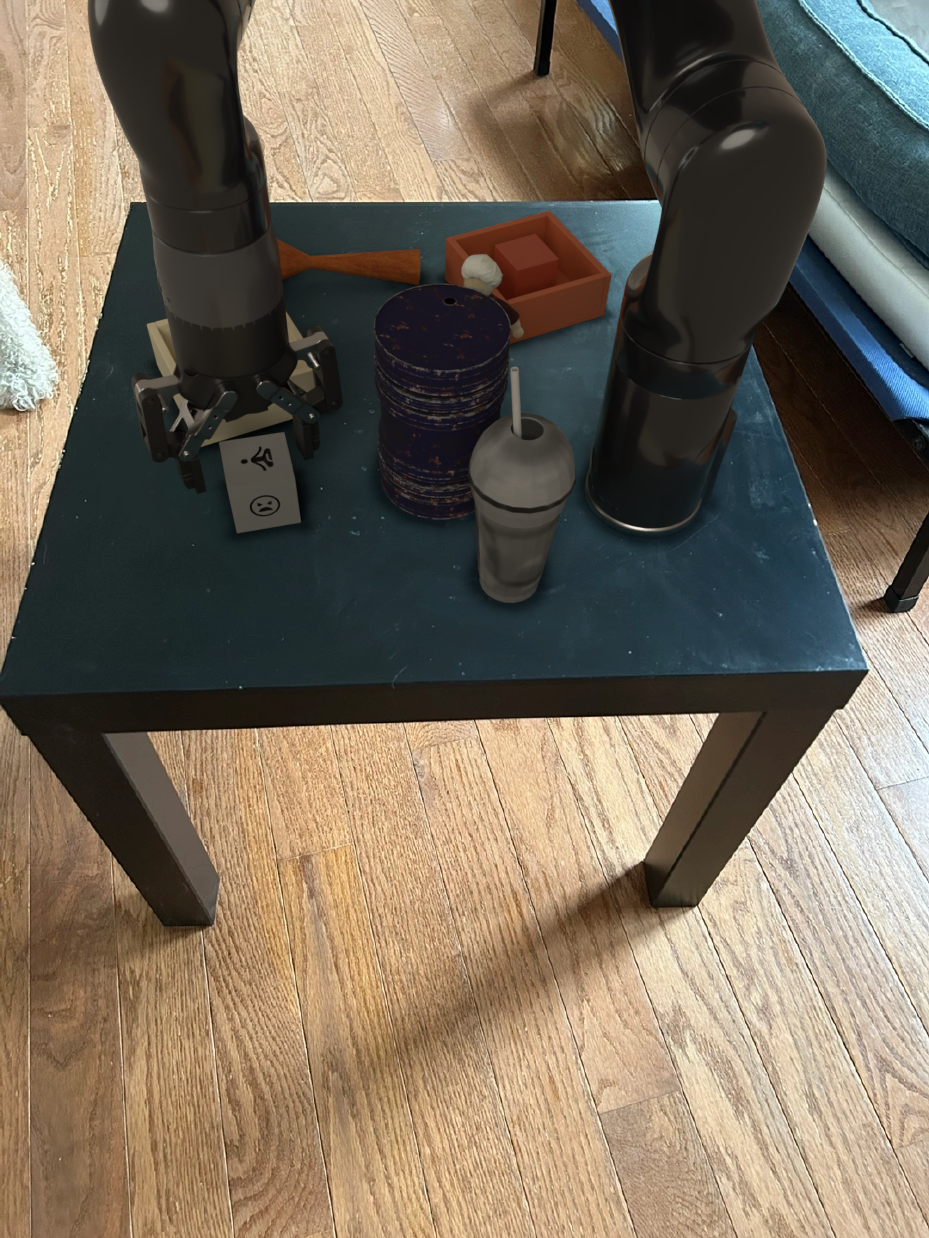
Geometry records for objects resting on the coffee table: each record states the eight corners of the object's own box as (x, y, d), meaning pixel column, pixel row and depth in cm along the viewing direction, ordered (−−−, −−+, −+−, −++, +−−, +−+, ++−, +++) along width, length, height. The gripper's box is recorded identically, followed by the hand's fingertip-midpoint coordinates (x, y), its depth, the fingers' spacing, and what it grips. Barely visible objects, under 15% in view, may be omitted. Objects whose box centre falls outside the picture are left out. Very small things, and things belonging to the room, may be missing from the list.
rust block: (531, 273, 98) (535, 233, 94) (553, 299, 96) (559, 258, 92) (491, 285, 97) (494, 244, 93) (513, 311, 94) (517, 270, 91)
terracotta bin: (545, 251, 101) (550, 210, 97) (604, 315, 95) (612, 274, 92) (444, 278, 98) (445, 237, 94) (499, 347, 92) (503, 306, 88)
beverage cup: (548, 626, 73) (586, 423, 57) (452, 607, 74) (462, 402, 58) (563, 552, 78) (601, 343, 61) (471, 535, 78) (486, 324, 62)
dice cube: (301, 522, 78) (294, 477, 74) (237, 533, 77) (227, 488, 73) (290, 477, 81) (284, 432, 77) (228, 487, 80) (218, 442, 76)
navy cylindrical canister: (488, 529, 79) (501, 382, 67) (366, 511, 79) (357, 361, 67) (506, 442, 84) (521, 292, 72) (393, 425, 85) (389, 274, 73)
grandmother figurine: (431, 396, 88) (433, 270, 77) (431, 367, 90) (433, 241, 80) (518, 397, 88) (532, 273, 78) (516, 368, 90) (529, 243, 80)
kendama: (423, 267, 92) (200, 257, 89) (417, 313, 97) (206, 304, 94) (419, 220, 94) (203, 208, 91) (414, 267, 100) (209, 257, 97)
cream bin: (278, 332, 92) (272, 290, 88) (326, 408, 86) (322, 367, 82) (157, 365, 89) (146, 323, 85) (198, 448, 83) (188, 406, 79)
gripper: (127, 350, 59) (176, 532, 72) (350, 292, 63) (359, 473, 76) (92, 279, 62) (145, 464, 75) (305, 228, 67) (321, 412, 80)
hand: (252, 468), depth 76 cm, fingers open, 8 cm apart
